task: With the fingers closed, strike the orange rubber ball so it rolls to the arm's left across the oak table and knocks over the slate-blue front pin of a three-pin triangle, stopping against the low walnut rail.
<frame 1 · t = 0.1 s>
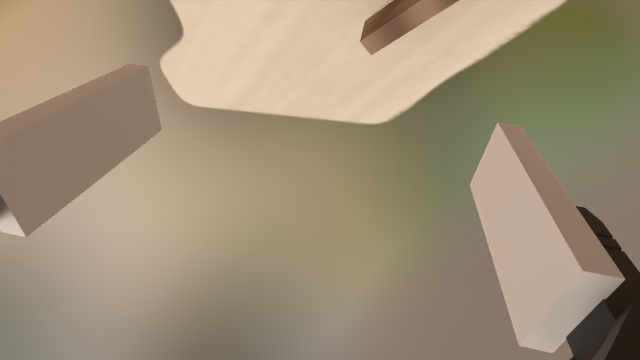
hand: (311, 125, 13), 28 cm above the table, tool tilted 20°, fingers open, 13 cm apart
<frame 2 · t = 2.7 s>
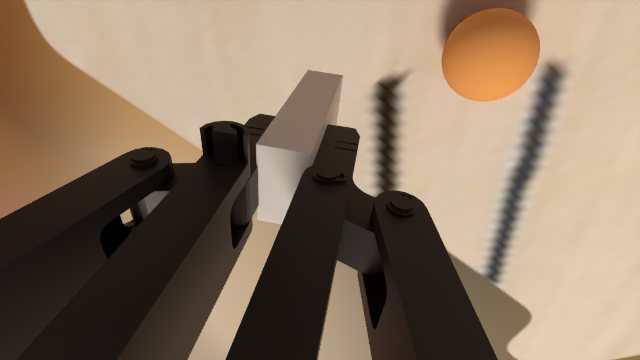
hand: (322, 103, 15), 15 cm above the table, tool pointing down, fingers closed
ball: (488, 56, 23), on the table
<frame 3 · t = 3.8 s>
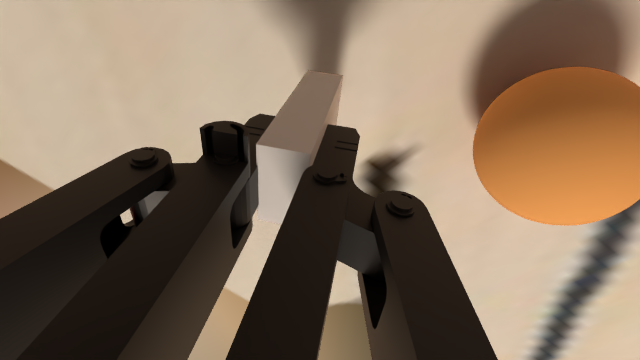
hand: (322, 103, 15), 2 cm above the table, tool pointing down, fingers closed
ball: (557, 147, 13), on the table
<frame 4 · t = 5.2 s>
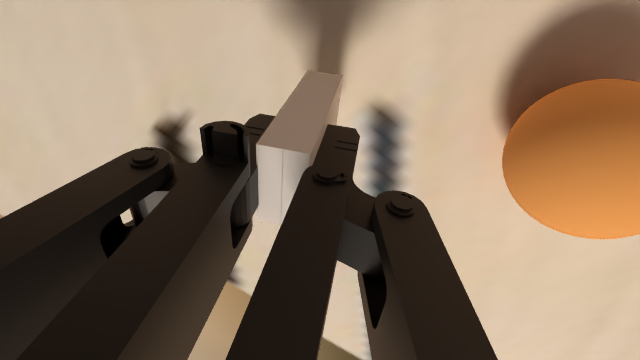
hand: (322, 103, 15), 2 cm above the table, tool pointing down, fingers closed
ball: (590, 160, 13), on the table
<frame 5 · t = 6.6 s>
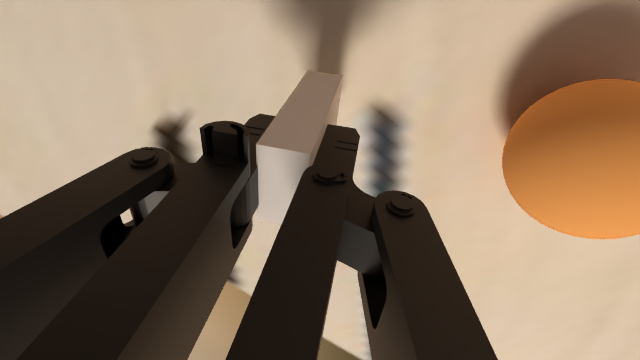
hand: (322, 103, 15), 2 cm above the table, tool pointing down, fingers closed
ball: (590, 160, 13), on the table
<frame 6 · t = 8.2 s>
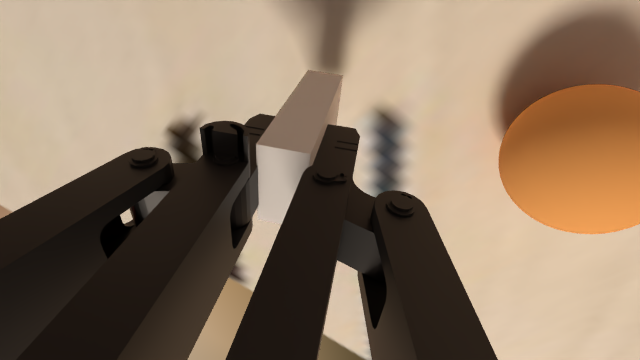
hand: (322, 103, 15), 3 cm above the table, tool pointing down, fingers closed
ball: (581, 160, 14), on the table
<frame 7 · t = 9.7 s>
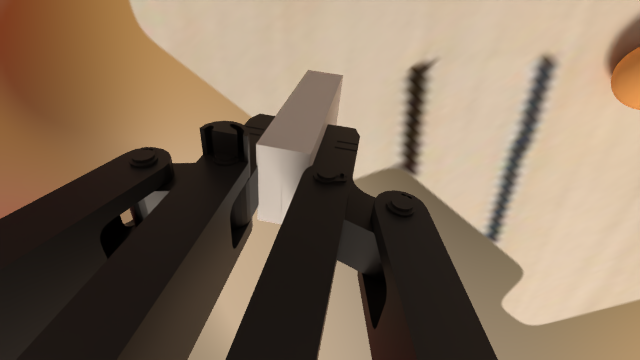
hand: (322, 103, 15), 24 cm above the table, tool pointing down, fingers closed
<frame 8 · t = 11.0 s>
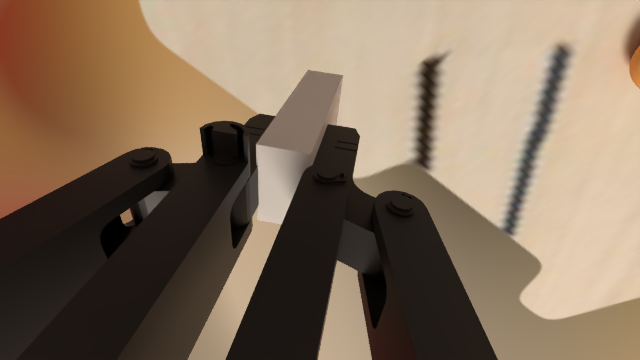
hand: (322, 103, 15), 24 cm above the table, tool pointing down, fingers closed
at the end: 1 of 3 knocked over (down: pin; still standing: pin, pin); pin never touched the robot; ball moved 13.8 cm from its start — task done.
